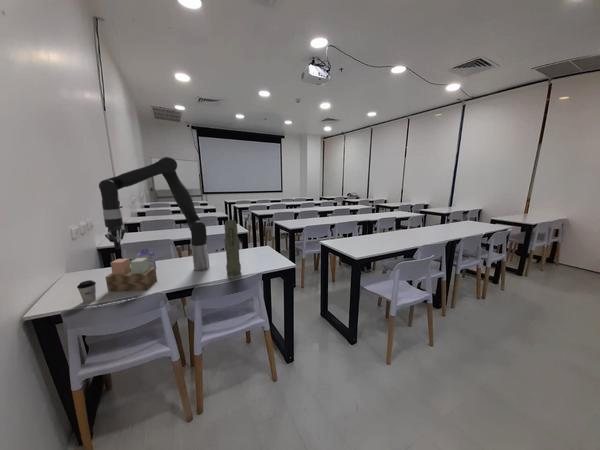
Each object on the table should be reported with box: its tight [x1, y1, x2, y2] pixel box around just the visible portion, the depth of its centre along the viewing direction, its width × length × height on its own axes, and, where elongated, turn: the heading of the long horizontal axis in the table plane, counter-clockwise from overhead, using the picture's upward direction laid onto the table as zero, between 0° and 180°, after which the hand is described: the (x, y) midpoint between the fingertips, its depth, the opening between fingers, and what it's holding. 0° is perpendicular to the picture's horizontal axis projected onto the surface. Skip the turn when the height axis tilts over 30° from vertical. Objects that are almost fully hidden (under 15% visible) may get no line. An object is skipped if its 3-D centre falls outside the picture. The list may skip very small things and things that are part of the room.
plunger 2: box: [130, 257, 150, 274], centre depth 128 cm, size 6×6×10 cm
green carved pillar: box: [223, 219, 242, 277], centre depth 144 cm, size 9×12×35 cm
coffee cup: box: [76, 279, 97, 304], centre depth 114 cm, size 7×7×10 cm
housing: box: [105, 267, 158, 293], centre depth 129 cm, size 20×11×9 cm, turn 96°
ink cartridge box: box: [135, 248, 157, 269], centre depth 151 cm, size 10×6×14 cm, turn 116°
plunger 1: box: [110, 257, 131, 275], centre depth 127 cm, size 6×6×10 cm
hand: (118, 248), depth 125 cm, fingers closed
